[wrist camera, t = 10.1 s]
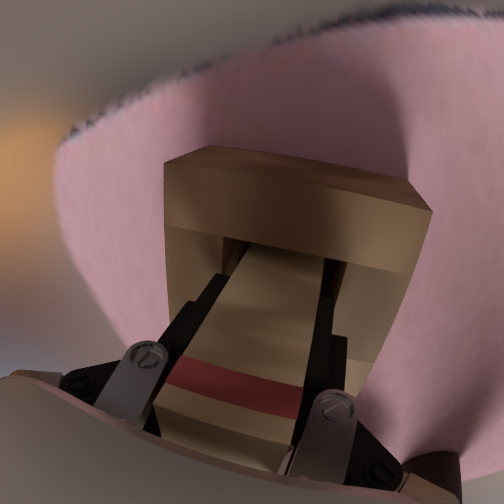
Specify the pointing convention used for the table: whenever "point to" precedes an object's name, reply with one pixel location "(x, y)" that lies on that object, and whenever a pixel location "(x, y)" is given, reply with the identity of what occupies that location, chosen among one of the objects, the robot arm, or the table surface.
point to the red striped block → (246, 362)
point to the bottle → (438, 471)
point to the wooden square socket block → (297, 233)
